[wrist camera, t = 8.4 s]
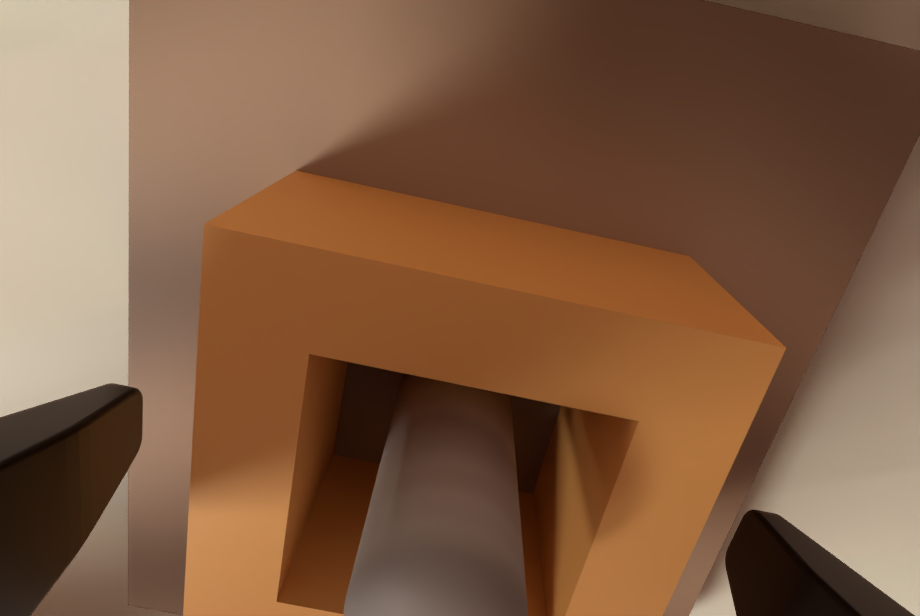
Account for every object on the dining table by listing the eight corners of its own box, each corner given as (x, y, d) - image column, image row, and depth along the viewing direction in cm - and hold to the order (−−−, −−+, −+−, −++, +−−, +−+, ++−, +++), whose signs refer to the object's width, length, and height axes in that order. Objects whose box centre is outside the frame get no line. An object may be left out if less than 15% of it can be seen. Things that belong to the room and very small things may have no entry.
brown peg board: (629, 625, 16) (728, 1011, 9) (170, 540, 15) (-57, 886, 9) (873, 59, 11) (1470, 56, 4) (193, -99, 10) (-309, -376, 4)
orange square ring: (578, 555, 13) (611, 726, 9) (260, 494, 12) (181, 649, 9) (689, 256, 10) (786, 347, 7) (296, 170, 10) (203, 224, 7)
